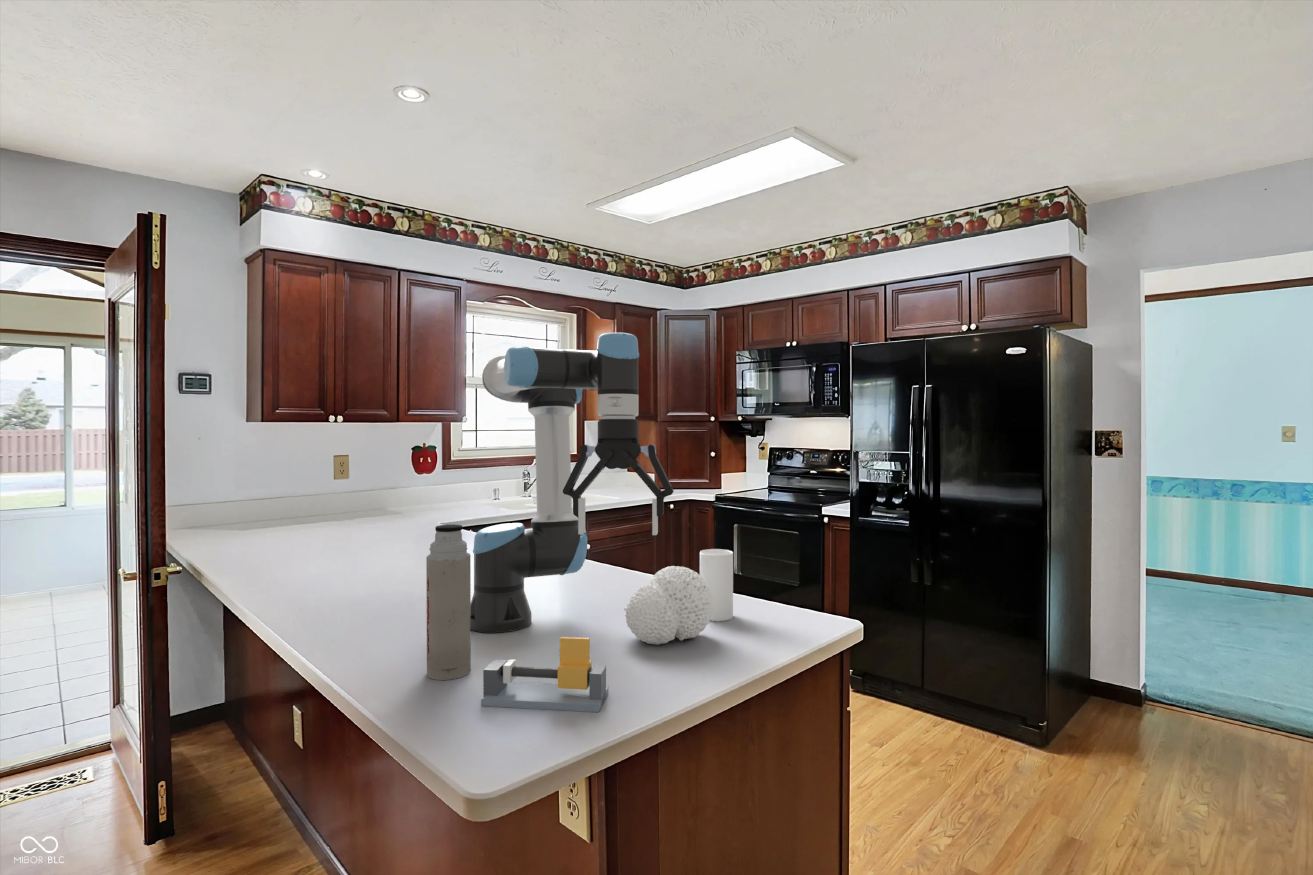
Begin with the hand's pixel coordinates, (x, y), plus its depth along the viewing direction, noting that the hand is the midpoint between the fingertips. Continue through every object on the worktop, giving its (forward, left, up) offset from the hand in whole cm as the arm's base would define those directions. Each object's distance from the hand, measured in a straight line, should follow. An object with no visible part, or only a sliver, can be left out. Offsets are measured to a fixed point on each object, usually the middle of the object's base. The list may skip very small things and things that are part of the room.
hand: (618, 533), depth 123 cm
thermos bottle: (-33, 0, -27) cm, 42 cm away
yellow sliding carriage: (-6, -10, -24) cm, 27 cm away
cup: (+16, +45, -27) cm, 55 cm away
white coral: (+7, +25, -27) cm, 37 cm away
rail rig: (-11, -10, -27) cm, 31 cm away
